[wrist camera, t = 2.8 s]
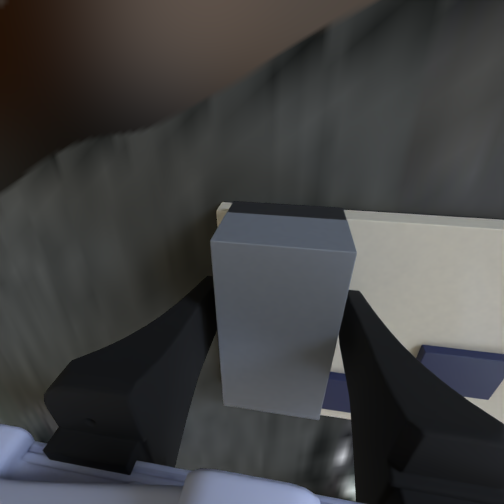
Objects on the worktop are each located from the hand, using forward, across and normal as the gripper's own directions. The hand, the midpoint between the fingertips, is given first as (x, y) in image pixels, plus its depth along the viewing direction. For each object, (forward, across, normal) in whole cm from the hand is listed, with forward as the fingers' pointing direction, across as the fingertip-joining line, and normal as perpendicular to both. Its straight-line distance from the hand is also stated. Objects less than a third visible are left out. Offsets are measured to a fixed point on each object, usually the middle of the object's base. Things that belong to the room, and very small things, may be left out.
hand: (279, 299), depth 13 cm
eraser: (+1, 0, 0) cm, 1 cm away
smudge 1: (+1, -9, +4) cm, 10 cm away
